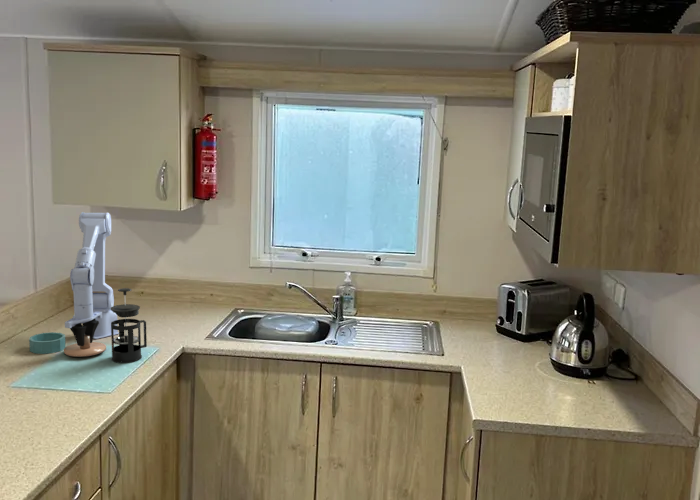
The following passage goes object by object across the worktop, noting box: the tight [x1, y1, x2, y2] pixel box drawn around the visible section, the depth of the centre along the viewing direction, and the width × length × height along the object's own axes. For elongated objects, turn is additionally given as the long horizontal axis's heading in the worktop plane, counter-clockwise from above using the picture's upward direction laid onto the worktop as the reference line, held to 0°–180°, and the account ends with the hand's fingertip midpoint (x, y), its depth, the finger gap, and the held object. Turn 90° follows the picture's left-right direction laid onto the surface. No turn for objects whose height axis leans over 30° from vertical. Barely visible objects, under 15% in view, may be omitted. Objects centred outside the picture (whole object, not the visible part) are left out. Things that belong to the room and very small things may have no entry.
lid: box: [63, 335, 107, 358], centre depth 228 cm, size 13×13×5 cm
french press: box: [110, 287, 148, 364], centre depth 223 cm, size 12×9×23 cm
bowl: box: [28, 331, 67, 355], centre depth 232 cm, size 11×11×4 cm
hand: (84, 344), depth 228 cm, fingers closed on lid, 3 cm apart
